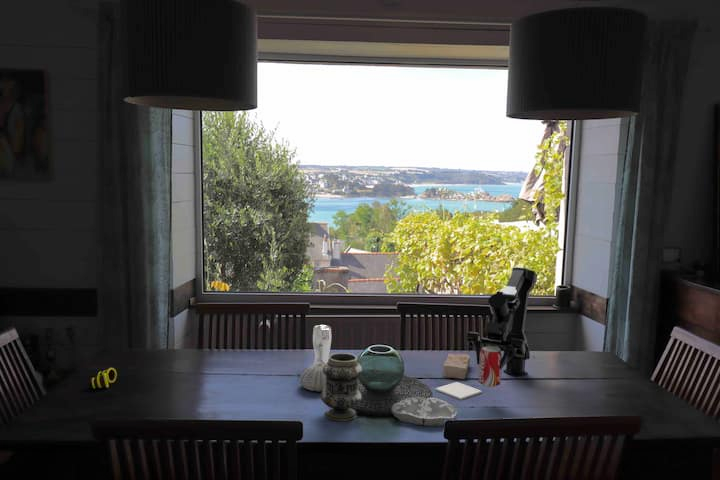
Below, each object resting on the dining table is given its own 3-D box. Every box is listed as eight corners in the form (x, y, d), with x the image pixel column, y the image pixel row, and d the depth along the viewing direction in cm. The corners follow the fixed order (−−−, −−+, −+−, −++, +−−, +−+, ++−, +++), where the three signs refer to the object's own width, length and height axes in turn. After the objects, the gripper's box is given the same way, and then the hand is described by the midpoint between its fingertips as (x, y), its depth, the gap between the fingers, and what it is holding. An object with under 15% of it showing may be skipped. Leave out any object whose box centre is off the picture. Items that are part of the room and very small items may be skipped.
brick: (465, 379, 207) (466, 367, 207) (442, 377, 210) (442, 364, 209) (469, 366, 223) (470, 354, 223) (448, 364, 226) (448, 352, 225)
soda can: (496, 390, 181) (498, 353, 179) (475, 385, 184) (476, 349, 183) (503, 383, 187) (505, 347, 185) (482, 379, 190) (484, 344, 189)
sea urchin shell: (309, 378, 204) (309, 356, 203) (345, 384, 200) (345, 361, 199) (293, 391, 192) (293, 367, 191) (330, 397, 187) (331, 373, 186)
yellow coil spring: (102, 382, 198) (99, 368, 197) (118, 379, 198) (115, 365, 198) (92, 392, 188) (88, 378, 188) (108, 389, 189) (105, 374, 188)
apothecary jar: (362, 423, 167) (364, 362, 165) (321, 423, 166) (322, 362, 164) (359, 407, 179) (360, 350, 177) (320, 407, 178) (321, 350, 176)
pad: (456, 383, 202) (456, 381, 202) (481, 392, 194) (481, 390, 194) (435, 390, 195) (435, 388, 195) (460, 399, 187) (460, 398, 187)
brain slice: (456, 408, 180) (457, 399, 180) (457, 431, 164) (457, 421, 163) (394, 403, 183) (394, 394, 183) (388, 425, 167) (388, 415, 166)
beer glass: (334, 365, 219) (335, 326, 218) (323, 370, 213) (324, 330, 212) (319, 362, 223) (320, 324, 222) (308, 366, 217) (309, 327, 216)
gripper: (468, 307, 191) (455, 348, 183) (525, 315, 182) (514, 358, 173) (475, 325, 199) (463, 365, 190) (529, 333, 190) (519, 376, 181)
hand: (489, 366), depth 184 cm, fingers closed on soda can, 7 cm apart
